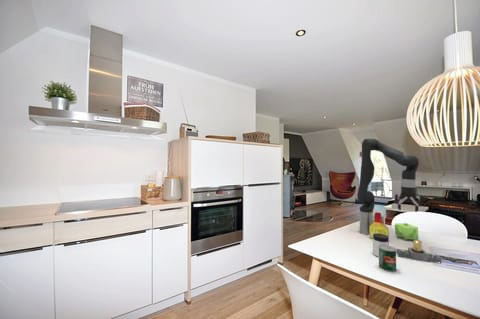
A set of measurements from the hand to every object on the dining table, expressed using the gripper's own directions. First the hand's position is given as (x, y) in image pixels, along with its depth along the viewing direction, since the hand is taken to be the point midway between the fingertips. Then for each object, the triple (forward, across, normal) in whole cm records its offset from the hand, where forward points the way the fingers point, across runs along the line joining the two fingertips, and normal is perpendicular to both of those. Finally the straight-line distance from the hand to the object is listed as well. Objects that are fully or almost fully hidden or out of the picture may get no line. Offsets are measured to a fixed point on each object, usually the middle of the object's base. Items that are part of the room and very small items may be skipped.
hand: (407, 210), depth 141 cm
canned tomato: (+25, -15, -36) cm, 46 cm away
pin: (+25, +3, -13) cm, 28 cm away
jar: (+25, -16, -19) cm, 35 cm away
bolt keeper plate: (+25, +3, -13) cm, 28 cm away
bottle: (+26, -15, +10) cm, 32 cm away
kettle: (+26, +3, +22) cm, 34 cm away
